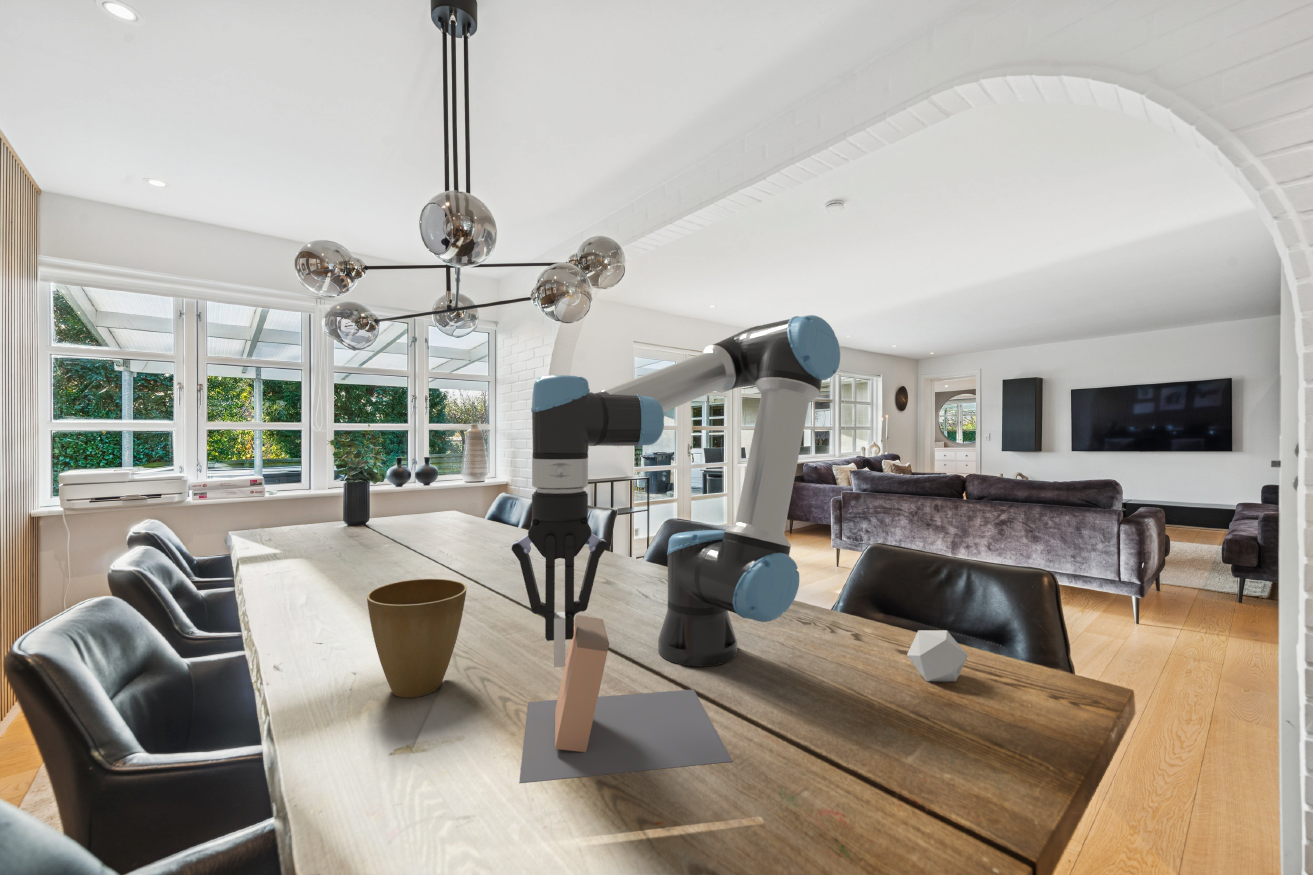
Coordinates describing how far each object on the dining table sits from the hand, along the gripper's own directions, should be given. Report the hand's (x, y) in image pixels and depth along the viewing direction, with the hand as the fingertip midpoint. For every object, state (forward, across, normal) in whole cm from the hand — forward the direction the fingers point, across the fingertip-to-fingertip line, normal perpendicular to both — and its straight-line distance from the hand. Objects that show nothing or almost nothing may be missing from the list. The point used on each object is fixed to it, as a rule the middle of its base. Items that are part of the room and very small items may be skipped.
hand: (559, 662), depth 75 cm
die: (+11, +64, +9) cm, 66 cm away
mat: (+10, +8, 0) cm, 13 cm away
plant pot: (+10, -23, +19) cm, 31 cm away
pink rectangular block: (+9, +1, 0) cm, 9 cm away
